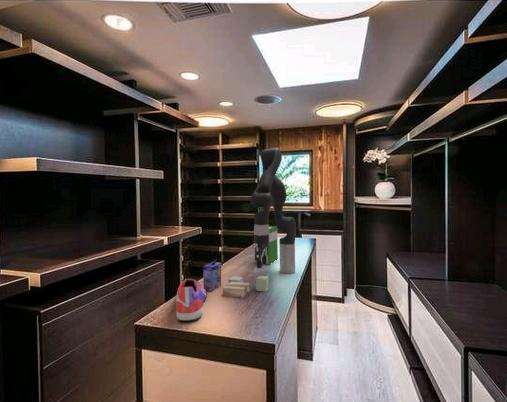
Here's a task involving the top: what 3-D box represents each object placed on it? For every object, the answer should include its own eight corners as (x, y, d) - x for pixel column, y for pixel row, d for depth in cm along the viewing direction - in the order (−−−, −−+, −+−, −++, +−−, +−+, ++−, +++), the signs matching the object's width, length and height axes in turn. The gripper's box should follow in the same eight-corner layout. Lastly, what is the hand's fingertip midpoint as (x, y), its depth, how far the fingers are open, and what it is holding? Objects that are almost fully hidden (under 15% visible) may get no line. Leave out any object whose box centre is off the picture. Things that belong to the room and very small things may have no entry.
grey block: (233, 283, 154) (233, 276, 154) (243, 284, 152) (243, 277, 152) (228, 287, 148) (228, 279, 148) (239, 288, 146) (239, 280, 146)
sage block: (259, 287, 147) (259, 275, 146) (268, 288, 145) (268, 276, 145) (256, 290, 142) (256, 278, 142) (266, 291, 140) (266, 279, 140)
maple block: (231, 289, 145) (231, 281, 145) (249, 291, 142) (249, 283, 142) (222, 296, 136) (222, 287, 136) (242, 298, 132) (242, 289, 132)
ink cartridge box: (212, 291, 141) (212, 262, 141) (202, 290, 143) (202, 261, 143) (222, 285, 150) (221, 258, 150) (212, 284, 152) (212, 257, 152)
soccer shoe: (207, 290, 143) (207, 264, 143) (205, 322, 107) (204, 287, 107) (182, 292, 142) (181, 265, 141) (170, 325, 106) (170, 289, 105)
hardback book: (269, 265, 192) (269, 229, 191) (259, 264, 195) (258, 228, 194) (277, 259, 208) (277, 226, 208) (268, 258, 211) (267, 225, 210)
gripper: (258, 231, 151) (259, 262, 151) (249, 235, 137) (249, 269, 138) (272, 232, 148) (272, 263, 149) (264, 235, 135) (264, 270, 135)
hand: (261, 266), depth 143 cm, fingers open, 8 cm apart
